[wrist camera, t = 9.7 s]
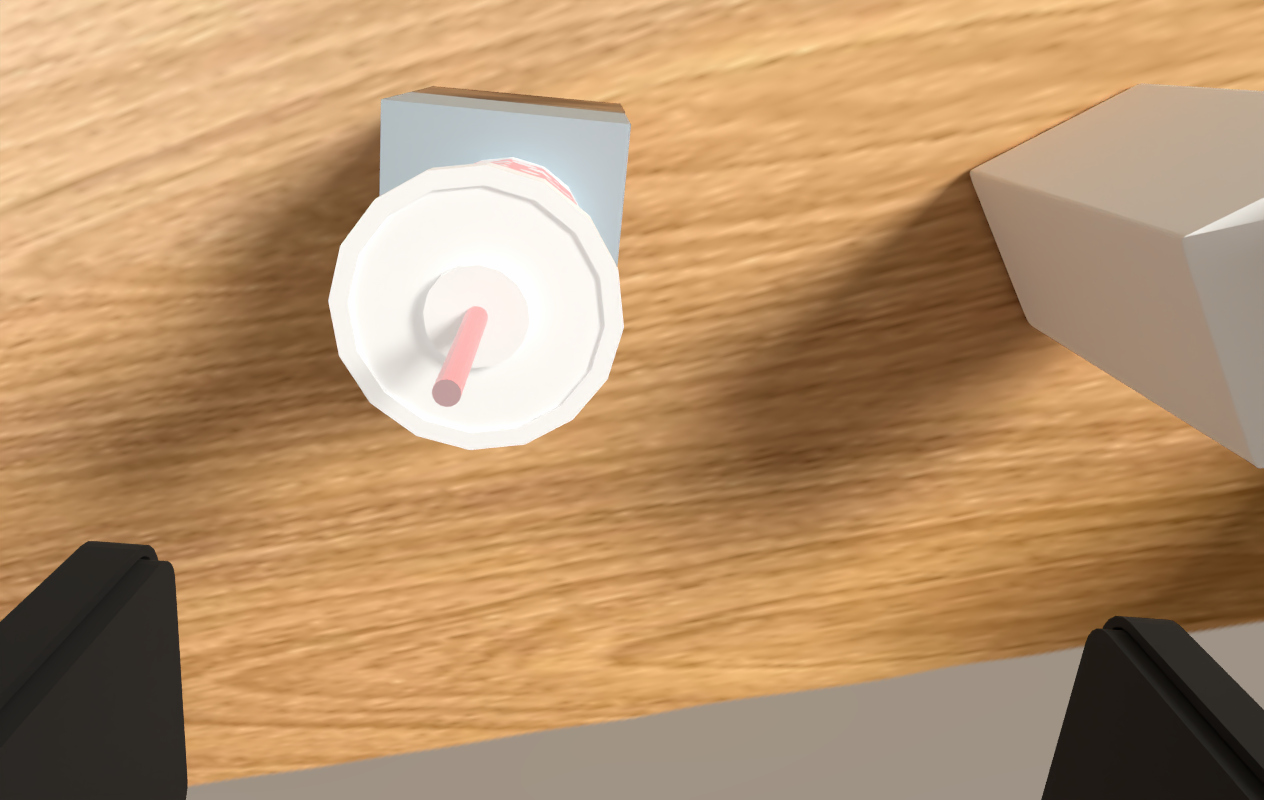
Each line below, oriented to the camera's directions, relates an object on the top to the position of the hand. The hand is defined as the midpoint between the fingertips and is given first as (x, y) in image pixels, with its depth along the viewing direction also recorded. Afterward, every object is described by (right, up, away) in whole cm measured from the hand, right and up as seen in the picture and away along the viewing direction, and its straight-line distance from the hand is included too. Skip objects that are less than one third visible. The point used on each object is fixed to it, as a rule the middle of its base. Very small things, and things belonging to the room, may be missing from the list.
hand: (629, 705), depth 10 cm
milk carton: (+18, +11, +30) cm, 36 cm away
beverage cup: (-4, +8, +19) cm, 21 cm away
